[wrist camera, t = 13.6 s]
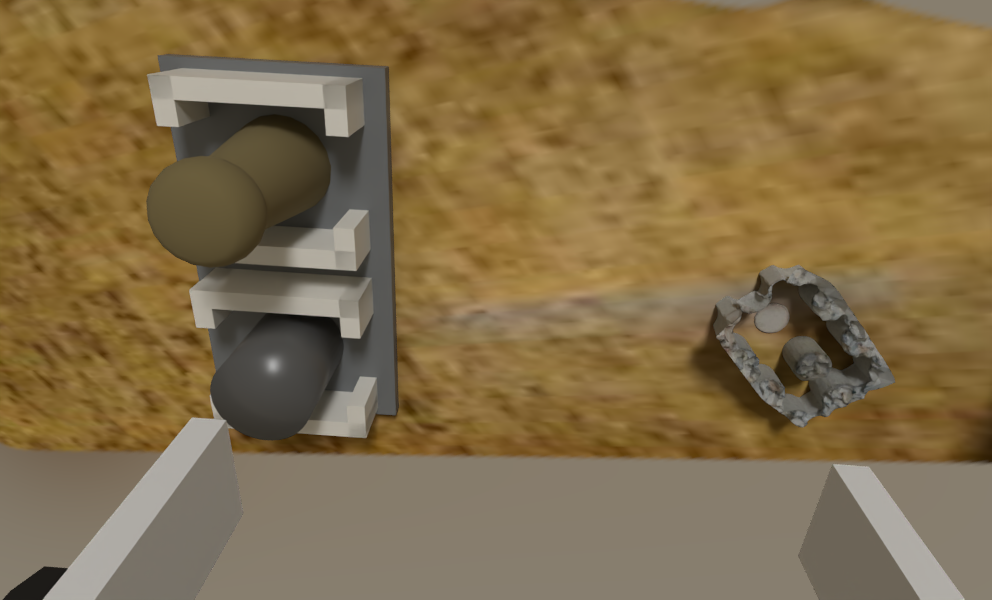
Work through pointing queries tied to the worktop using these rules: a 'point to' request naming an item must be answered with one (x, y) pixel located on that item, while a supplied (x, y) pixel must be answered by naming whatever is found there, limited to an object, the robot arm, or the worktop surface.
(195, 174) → the cork
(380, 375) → the socket board
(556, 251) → the worktop surface
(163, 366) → the worktop surface
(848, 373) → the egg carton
